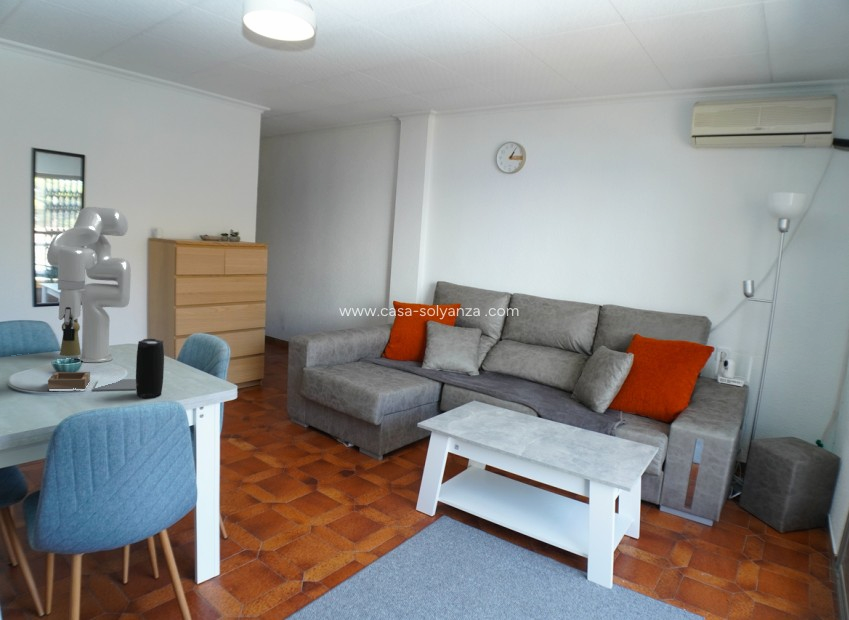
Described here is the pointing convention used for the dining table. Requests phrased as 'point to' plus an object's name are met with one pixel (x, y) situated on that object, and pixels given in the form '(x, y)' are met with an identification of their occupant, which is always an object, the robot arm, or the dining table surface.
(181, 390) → the dining table surface
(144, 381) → the portable speaker
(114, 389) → the charcoal mat
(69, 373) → the walnut holder
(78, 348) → the olive bottle
